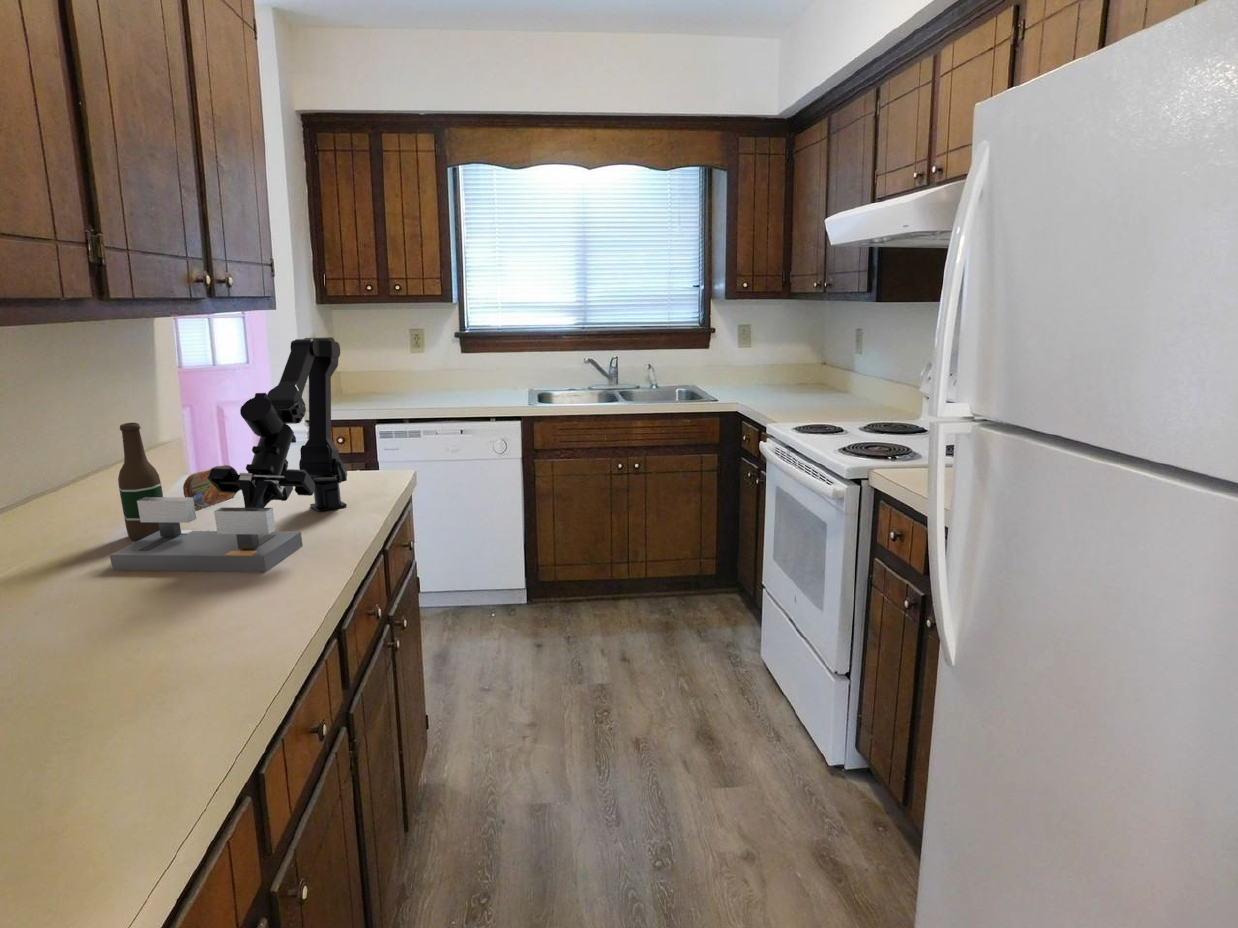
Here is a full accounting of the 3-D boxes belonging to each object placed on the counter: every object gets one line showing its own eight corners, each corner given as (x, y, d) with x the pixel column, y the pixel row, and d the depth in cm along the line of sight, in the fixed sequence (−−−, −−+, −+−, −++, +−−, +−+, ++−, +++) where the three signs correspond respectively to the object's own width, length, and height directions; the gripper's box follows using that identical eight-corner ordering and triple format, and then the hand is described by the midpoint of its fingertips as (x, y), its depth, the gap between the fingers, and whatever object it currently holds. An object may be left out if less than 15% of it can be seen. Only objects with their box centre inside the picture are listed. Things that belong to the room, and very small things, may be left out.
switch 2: (227, 545, 150) (221, 507, 148) (277, 545, 149) (272, 507, 147) (219, 549, 147) (214, 511, 146) (271, 549, 146) (265, 511, 145)
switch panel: (161, 544, 161) (158, 529, 160) (302, 545, 158) (300, 530, 157) (112, 569, 147) (109, 553, 147) (266, 571, 145) (263, 555, 144)
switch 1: (151, 532, 158) (145, 497, 156) (198, 533, 157) (193, 497, 155) (143, 536, 156) (136, 500, 154) (191, 537, 155) (185, 500, 153)
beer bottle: (119, 538, 166) (98, 425, 160) (155, 527, 172) (136, 419, 167) (141, 543, 162) (121, 428, 156) (177, 532, 169) (159, 421, 163)
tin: (194, 511, 184) (188, 476, 182) (183, 510, 185) (178, 476, 183) (242, 494, 198) (238, 461, 196) (232, 493, 199) (227, 461, 197)
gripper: (332, 472, 163) (313, 541, 155) (243, 469, 164) (219, 537, 156) (313, 443, 153) (292, 514, 145) (219, 440, 154) (193, 510, 146)
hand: (249, 520), depth 148 cm, fingers closed
